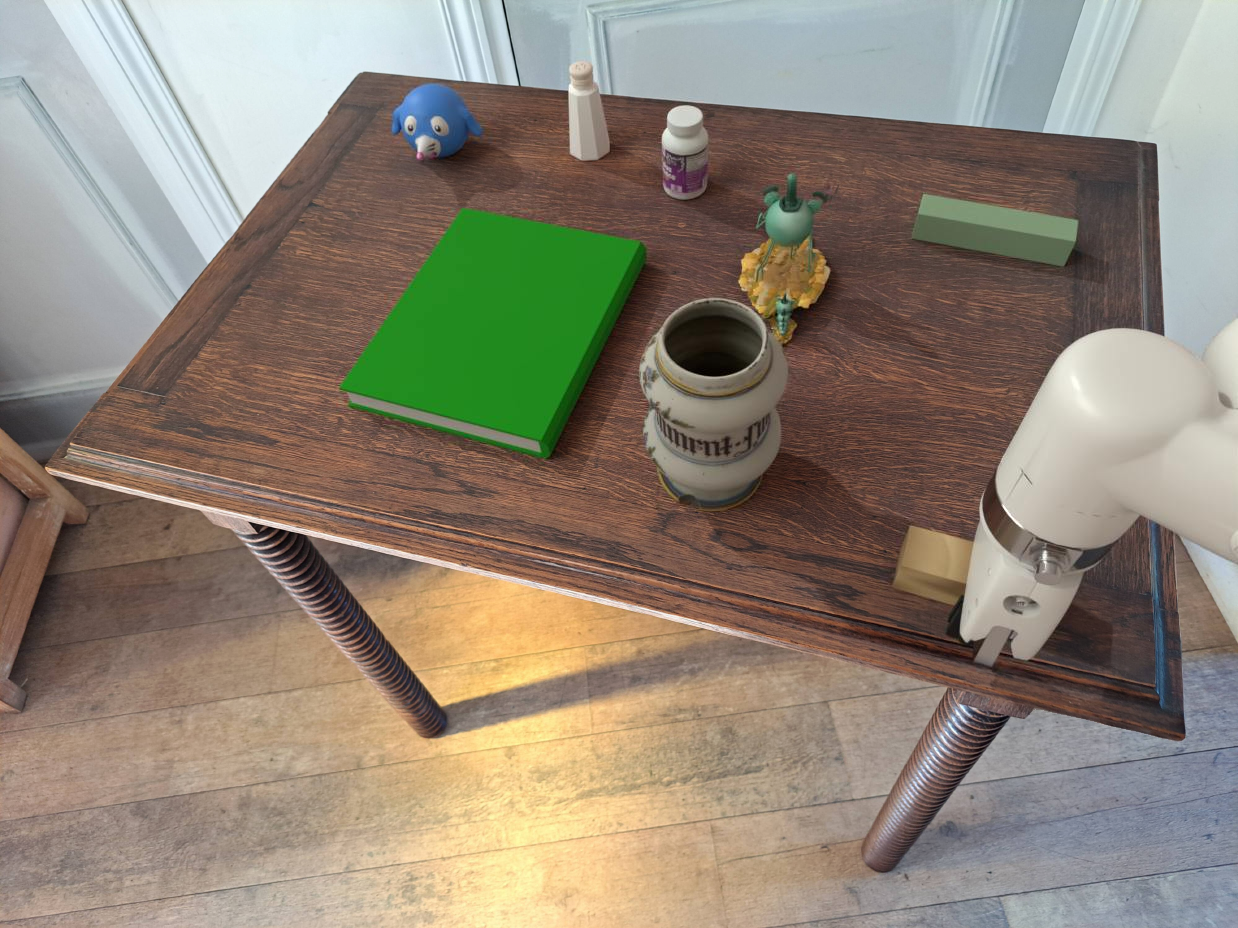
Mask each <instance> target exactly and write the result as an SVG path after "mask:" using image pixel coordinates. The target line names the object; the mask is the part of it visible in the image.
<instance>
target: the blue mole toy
mask: <svg viewBox="0 0 1238 928" xmlns="http://www.w3.org/2000/svg"><path fill="white" fill-rule="evenodd" d="M390 129H391V132H392V134H393V135H396V136H397V135H398V134H399V133H400V132H401V131H402V133H403V136H404V138H405V140H406V141H407V143H408V144H409V145H410V147H412V149H413V150H415V151H416V152H417V153H416V160H418V161H419V162H420V161H423V160H424V158H428V159H435V158H436V159H437V158H438V159H439V158H440V159H441V158H445V157H449V156H452V155H454V154H455V153H457V152H459V150H461V149H462V148H463V146H464V145H465V144H466V142H467V140H468V137H469V135H470V133H471V134H472V135H473V136H475V137H481V136H482V135H483V132H484V129H483V127H482V126H481V124H480V123H479V122H478V121H477V120H476V119H475V118H474V116H473V114H472V113H471V112H470V110H469V109H468V107H467V105H466V102H465V101H464V99H463V98H462V96H460V94H459V93H457V91H455V90H454V89H452V88H451V87H450V86H447V85H444V84H441V83H425V84H422V85H418V86H417V87H414V88H413V89H412V90H411V91H410V92H409V93H408V94H407V95H406V96H405V98H404V100H403V102H402V103H401V105H399V106H397V107H396V108H395V109H394V110H393V112H392V125H391V128H390Z"/></svg>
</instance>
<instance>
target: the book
mask: <svg viewBox="0 0 1238 928" xmlns="http://www.w3.org/2000/svg"><path fill="white" fill-rule="evenodd" d="M647 257H648V256H647V247H646V245H645V244H643V242H642V241H639V240H634V239H629V238H624V237H618V236H615V235H614V236H613V235H609V234H603V233H597V232H593V231H587V230H583V229H576V228H571V227H566V226H562V225H556V224H550V223H545V222H540V221H534V220H529V219H524V218H519V217H514V216H509V215H503V214H498V213H492V212H487V211H482V210H478V209H473V208H467V207H462V208H461V209H460V211H459V212H458V213H457V215H456V217H455V218H454V220H452V223H451V224H450V225H449V227H448V228H447V230H446V231H445V232H444V234H443V235H442V237H441V238H440V240H439V241H438V243H437V244H436V246H435V247H434V249H433V250H432V251H431V253H429V256H428V257H427V259H426V260H425V261H424V263H423V265H422V266H421V267H420V269H419V270H418V272H417V273H416V275H415V276H414V278H413V279H412V281H411V282H410V283H409V284H408V286H407V288H406V289H405V291H404V292H403V293H402V295H401V297H400V298H399V300H398V301H397V302H396V304H395V305H394V307H393V308H392V310H391V311H390V312H389V313H388V315H387V317H386V319H385V320H384V321H383V322H382V324H381V326H380V327H379V328H378V330H377V332H376V333H375V334H374V335H373V337H372V338H371V340H370V341H369V343H368V345H366V347H365V349H364V351H362V353H361V355H360V356H359V358H358V359H357V360H356V362H355V363H354V365H353V366H352V368H351V369H350V370H349V372H348V373H347V375H346V377H345V378H344V380H343V381H342V382H341V384H340V386H339V387H338V389H339V390H340V391H342V392H346V394H347V396H348V397H349V399H350V400H349V402H348V404H347V406H348V407H349V408H352V409H356V410H360V411H364V412H367V413H371V414H375V415H379V416H383V417H387V418H391V419H393V420H398V421H402V422H405V423H409V424H413V425H417V426H420V427H424V428H429V429H433V430H436V431H439V432H443V433H446V434H451V435H455V436H458V437H461V438H466V439H470V440H473V441H477V442H481V443H484V444H488V445H492V446H495V447H500V448H503V449H507V450H511V451H514V452H518V453H522V454H527V455H530V456H534V457H537V458H540V459H544V460H546V459H548V458H549V457H551V455H552V454H553V451H554V448H555V447H556V445H557V443H558V441H559V439H560V438H561V435H562V432H563V430H564V429H565V426H566V424H567V422H568V421H569V418H570V417H571V414H572V412H573V410H574V408H575V406H576V404H577V402H578V400H579V398H580V396H581V394H582V392H583V390H584V388H585V385H586V383H587V382H588V379H589V378H590V375H591V373H592V371H593V369H594V367H595V365H596V363H597V361H598V359H599V357H600V355H601V353H602V351H603V349H604V347H605V345H606V343H607V341H608V339H609V336H610V334H611V332H612V331H613V328H614V326H615V324H616V322H617V320H618V319H619V316H620V314H621V312H622V310H623V308H624V306H625V304H626V301H627V299H628V298H629V296H630V294H631V291H632V289H633V288H634V286H635V283H636V281H637V280H638V277H639V275H640V273H641V271H642V269H643V267H644V265H645V263H646V261H647Z"/></svg>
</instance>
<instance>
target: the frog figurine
mask: <svg viewBox="0 0 1238 928" xmlns="http://www.w3.org/2000/svg"><path fill="white" fill-rule="evenodd" d="M797 188H798V175H796V174H795V173H789V174H788V175H787V179H786V194H785V195H782V196H780V194H779V193H778V192H779V187H778V186H775V185H770V186H768V187H766V188H764V190H763V191H762V196H765V197H764V201H763V202H764V204H765V206H767V207H769V208H768V209H767V210H766V212H765V213H763V212H760V213H759V215H758V218H757V219H758V220H757V222H756V223H757V224H756V226H755V229H759V228H760V227H761V226H763V224H765V231H766V234H767V236H768V237H769V238H768V240H767V241H766V242H762V243H761V244H760V246H759V247H758V248H757V247H756V248H755V249H754V250H752V252H747V253H745V254H744V257H743V258H742V259H741V260H740V263H741V264H740V265H741V267H742V268H741V273H740V275H739V279H738V284H739V286H740V288H741V291H743V292H746V293H747V294H745V296H746V297H747V298H748V299H749V301H750V303H751V306H752V307H754V309H755V310H756V311H757V312H758V313H759V315H760V314H761V318H762V319H767V321H768V322H770V324H769V325H770V327H771V330H772V333H773V334H774V336H775V337H776V338H777V339H778V341H779V342H780V344H781V346H783V345H784V344H787V343H788V342H790V340H792V339H793V333H794V330H795V329H796V328H797V327H798V323H797V322H796V321H795V319H792V318H791V315H792V314H793V312H794V309H797V308H798V307H800V308H801V307H802V308H804V309H809V307H810V305H813V304H815V303H816V302H817V301H818V299H819V297H820V295H821V294H822V292H823V291H824V289H825V286H826V285H825V284H826V283H827V281H828V279H829V277H830V273H831V268H830V267H829V266H827V265H826V263H827V260H826V259H825V258H826V257H825V255H823V252H822V251H820V250H819V249H818V248H813V227H814V215H816V214H818V213H819V212H820V210H821V208H822V207H821V206H822V202H821V201H819V200H818V199H811V200H809V201H808V202H806V201H805V200H804V199H803V198H801V196H798V195H797V192H798V191H797V190H798V189H797ZM779 196H780V197H779ZM811 196H812V197H813V198H815V197H816V198H817V197H818V198H820V199H821V200H822V201H823V202H824V204H826V203H827V202H828V198H827V197H826V195H825V194H824V193H823V192H822V191H819V190H817V191H813V192H812V195H811ZM762 219H764V220H762ZM761 220H762V221H761ZM776 314H777V315H776ZM771 316H772V317H771ZM770 317H771V318H770Z"/></svg>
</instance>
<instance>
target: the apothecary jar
mask: <svg viewBox="0 0 1238 928" xmlns="http://www.w3.org/2000/svg"><path fill="white" fill-rule="evenodd" d="M786 355H787V354H786V352H785V349H784V348H783V345H781V344H780V342H779V341H778V339H777V338H776V337H775V336H774V334H773V331H771V330H770V329H769V328H767V324H766V323H765V321H764V318H762V316H761V315H760V314H758V313H757V312H756V311H755V310H754V309H752V308H751V307H750V306H748V305H746V304H744V303H742V302H740V301H737V300H733V299H729V298H723V297H707V298H701V299H697V300H694V301H690V302H689V303H686V304H684V305H682V306H680V307H678V308H677V309H676V310H675V311H673V312H672V313H671V314H670V315H669V316H668V317H667V318H666V320H665V321H664V322H663V324H662V325H661V327H660V328H659V329H658V330H657V331H656V332H655V333H654V334H653V336H652V337H650V339H649V341H648V342H647V344H646V345H645V348H644V349H643V351H642V354H641V357H640V363H639V369H638V373H639V375H638V376H639V382H640V387H641V390H642V392H643V395H644V396H645V399H646V401H647V403H649V407H648V409H647V411H646V413H645V417H644V419H643V424H642V426H643V427H642V437H643V444H644V447H645V450H646V452H647V455H648V457H649V459H650V460H651V462H652V463H653V465H654V466H655V467H656V473H657V476H658V479H659V482H660V485H661V486H662V487H663V489H664V490H665V492H666V493H667V494H668V495H669V496H670V497H671V498H672V499H673V500H675V501H676V502H678V503H679V504H680V503H681V504H691V505H694V506H695V507H696V508H697V509H698V510H699V511H702V512H723V511H727V510H730V509H733V508H735V507H738V506H739V505H741V504H743V503H745V502H746V501H747V500H748V499H750V498H751V497H752V496H753V495H754V494H755V492H756V491H757V490H758V488H759V486H760V485H761V482H762V478H763V474H764V473H765V472H766V471H767V470H768V468H769V467H770V466H771V465H772V464H773V462H774V460H775V459H776V457H777V455H778V453H779V450H780V447H781V443H782V433H783V432H782V424H781V423H782V422H781V418H780V414H779V413H778V410H777V408H776V406H777V404H778V403H779V402H780V401H781V398H782V397H783V394H784V392H785V391H786V387H787V384H788V378H789V363H788V359H787V356H786Z"/></svg>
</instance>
